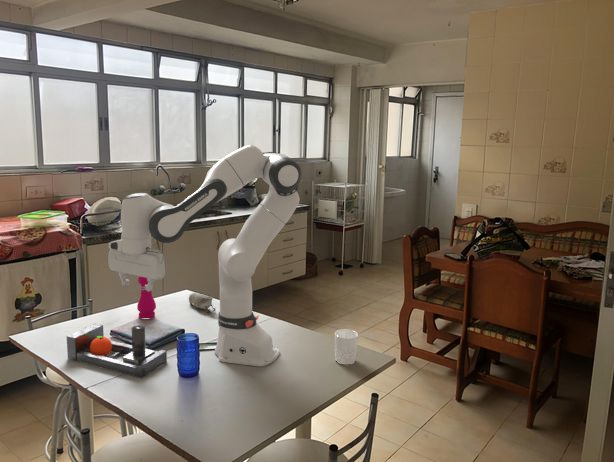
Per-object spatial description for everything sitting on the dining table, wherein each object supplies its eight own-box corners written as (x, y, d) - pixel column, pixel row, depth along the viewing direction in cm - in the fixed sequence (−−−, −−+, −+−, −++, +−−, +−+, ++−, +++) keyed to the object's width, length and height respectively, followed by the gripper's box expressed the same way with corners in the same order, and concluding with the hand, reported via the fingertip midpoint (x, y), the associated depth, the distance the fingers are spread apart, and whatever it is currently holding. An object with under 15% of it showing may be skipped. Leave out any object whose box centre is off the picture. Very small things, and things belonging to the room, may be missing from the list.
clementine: (85, 355, 169) (84, 335, 168) (106, 349, 174) (105, 330, 173) (95, 363, 164) (94, 343, 162) (116, 357, 168) (115, 337, 167)
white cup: (339, 354, 178) (341, 327, 176) (360, 359, 174) (362, 332, 172) (329, 362, 171) (330, 334, 169) (350, 368, 167) (351, 340, 165)
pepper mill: (159, 315, 207) (158, 268, 203) (149, 321, 200) (148, 272, 197) (144, 312, 209) (143, 266, 205) (133, 318, 202) (132, 270, 198)
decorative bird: (195, 303, 224) (195, 287, 222) (218, 312, 213) (218, 296, 212) (185, 305, 220) (185, 289, 218) (207, 315, 209) (207, 298, 208)
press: (166, 362, 167) (166, 339, 165) (141, 378, 155) (140, 354, 154) (96, 344, 177) (95, 323, 176) (67, 358, 166) (66, 336, 164)
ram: (155, 362, 166) (154, 325, 163) (138, 372, 158) (137, 333, 156) (140, 358, 168) (139, 321, 165) (123, 368, 160) (121, 330, 158)
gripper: (169, 248, 155) (169, 291, 158) (119, 239, 163) (120, 280, 166) (155, 252, 149) (155, 296, 152) (104, 242, 158) (105, 285, 160)
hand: (136, 288), depth 159 cm, fingers open, 8 cm apart
